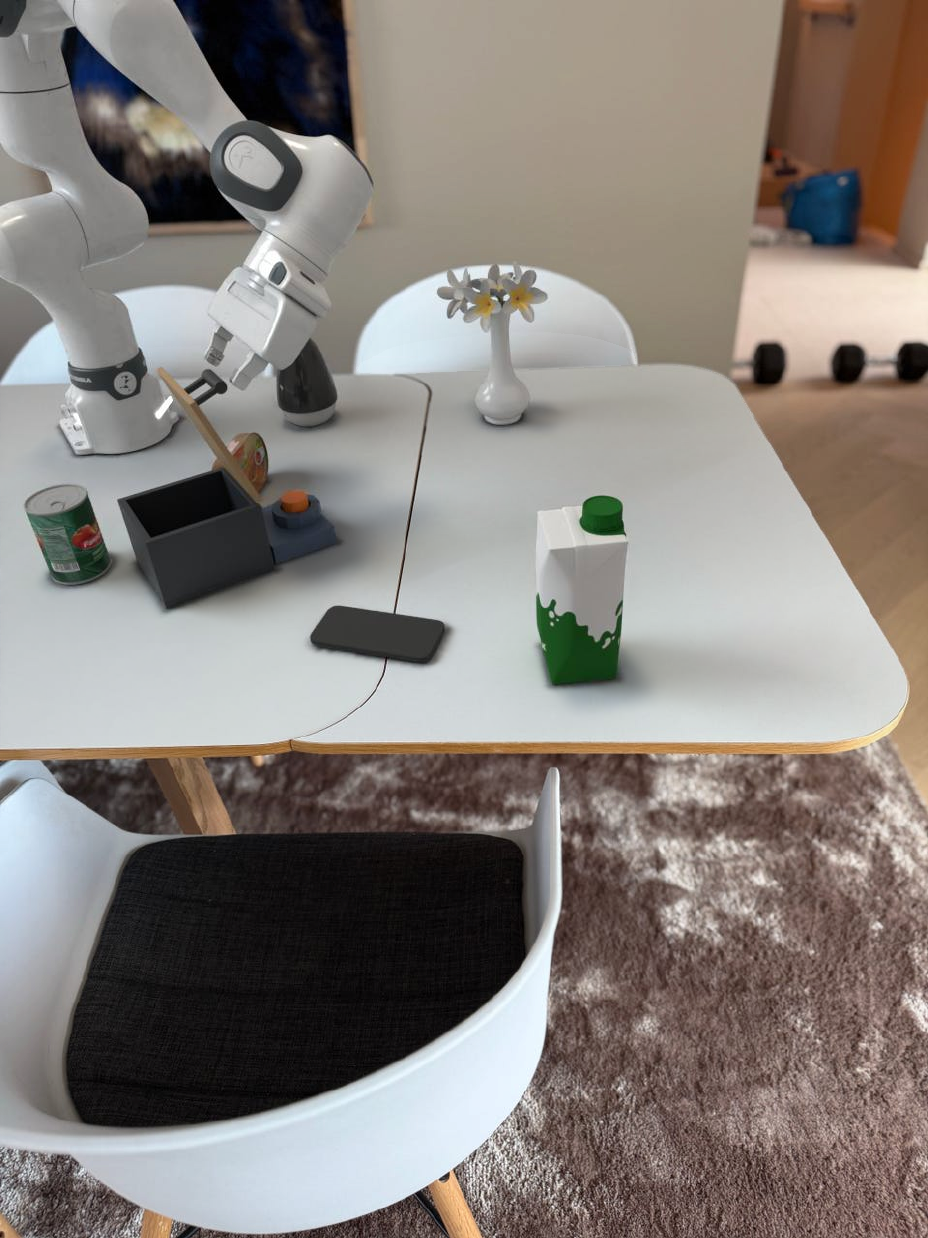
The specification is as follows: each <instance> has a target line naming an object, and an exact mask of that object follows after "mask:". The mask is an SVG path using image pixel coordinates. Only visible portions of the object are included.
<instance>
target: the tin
mask: <svg viewBox="0 0 928 1238" xmlns="http://www.w3.org/2000/svg"><path fill="white" fill-rule="evenodd" d="M226 447H227V448H228V450H229V451H230V453H231V454H232V456H233V457H234V459H235V460H236V462H237V463H238V465H239V466H240V467H241V469H242V470H243V472H244V473H245V475H246V476H247V478H248V479H249V481H250V482H251V484H252V485H253V487H254V488H255V490H256V491H257V492H258V493H259V492H260V490H261V489H262V488H263V486H264V485H265V483H266V481H267V478H268V475H269V454H268V449H267V445H266V443H265V441H264V439H263V437H262V436H261V435H260V434H259V433H258V432H255V431H254V432H244V433H242V432H241V433H238V434H236V435H235V436H234V437H233V438H232V439H231V441H230V442H229V443H228V444H227V445H226ZM221 467H223V465H222V464H221V463H220V461H219V460H218V459H217V457H216V458H215V460H214V461H213V463H212V466H211V470H214V469H218V468H221Z"/></svg>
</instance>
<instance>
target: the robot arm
mask: <svg viewBox="0 0 928 1238" xmlns="http://www.w3.org/2000/svg"><path fill="white" fill-rule="evenodd" d="M70 28H76V30H78V31H79V32H80V33H81V35H82V36H83V38H85V39H86V41H88V43H89V44H90V45H91V46H92V48H94V49H95V50H96V51H97V53H99V55H101V56H102V57H103V58H104V59H105V60H106V61H107V62H108V63H109V64H110V65H112V66H113V67H114V68H115V69H116V70H118V72H120V73H121V74H122V75H123V76H124V77H126V78H128V79H129V80H130V81H131V82H132V83H134V84H135V85H136V86H137V87H139V88H140V89H141V90H142V91H144V92H145V93H147V95H149V96H150V97H152V99H154V100H155V101H156V102H158V103H159V104H160V105H162V106H163V107H164V108H165V109H167V110H168V111H169V112H170V113H171V114H173V115H174V116H175V117H176V118H178V120H180V121H181V122H182V124H184V125H185V126H186V127H187V128H188V129H189V131H191V132H192V133H193V134H194V136H196V138H197V139H198V140H199V141H200V142H201V144H202V145H203V146H204V147H205V148H206V150H207V151H208V152H209V154H210V155H209V172H210V175H211V178H212V181H213V183H214V185H215V186H216V188H217V189H218V191H219V193H220V195H221V196H222V197H223V198H224V199H225V200H226V201H227V202H228V203H229V204H230V205H231V206H232V207H233V208H234V209H235V210H236V211H237V212H238V213H239V214H240V215H241V216H242V217H244V218H245V219H246V220H247V222H248V223H249V224H250V226H252V228H253V229H254V230H255V232H256V233H257V234H258V235H259V236H258V238H257V239H256V242H255V243H254V245H253V247H252V248H251V249H250V251H249V253H248V255H247V257H246V258H245V259H244V261H243V264H242V266H237V267H234V269H233V270H232V271H231V272H230V273H229V274H228V276H227V277H226V278H225V279H224V280H223V282H222V284H221V285H220V287H219V288H218V290H217V291H216V293H214V295H213V297H212V299H211V300H210V302H209V304H208V307H207V310H206V311H207V312H206V315H207V316H208V317H209V318H210V319H212V320H213V321H214V322H215V323H216V324H215V325H214V327H212V328H213V329H212V330H211V335H210V338H209V342H208V346H207V348H206V350H205V351H204V353H203V355H202V358H203V359H204V361H206V362H207V363H209V364H210V365H212V366H214V367H219V366H220V365H221V362H222V361H223V360H224V358H225V355H224V352H225V350H226V347H227V345H228V342H229V343H231V341H232V340H233V337H234V338H236V339H237V340H238V341H240V342H241V343H242V344H243V345H245V346H246V347H247V348H249V349H250V350H249V351H248V353H247V355H246V356H245V358H246V360H245V361H244V362H243V363H242V364H241V365H240V366H239V368H237V367H235V368H234V370H233V371H232V373H231V375H230V376H229V382H230V384H232V386H234V387H236V388H237V389H239V390H240V391H245V390H247V388H248V387H249V385H250V384H251V382H252V380H254V379H255V378H256V377H258V376H259V375H260V374H262V372H264V371H265V369H266V368H267V366H268V365H269V364H270V365H271V366H273V367H275V368H276V369H277V368H278V369H280V370H283V369H285V368H287V367H288V366H289V365H291V364H292V363H293V362H294V360H295V359H296V358H297V356H298V355H299V353H300V352H301V350H302V349H303V347H304V346H305V344H306V343H307V341H308V340H309V338H312V337H311V336H312V335H313V334H314V331H315V330H316V327H317V324H318V320H317V319H321V320H322V319H325V318H326V316H327V315H328V314H329V312H330V310H331V308H332V301H331V299H330V298H329V295H328V293H327V290H326V287H325V285H324V283H325V282H326V280H327V278H328V277H329V274H330V272H331V269H332V265H333V263H334V260H335V258H336V257H337V255H339V253H340V252H341V251H342V250H343V249H344V248H345V247H346V246H347V245H348V244H349V242H350V241H351V239H352V237H353V236H354V235H355V232H356V230H357V229H358V227H359V225H360V223H361V222H362V220H363V218H364V216H365V214H366V212H367V209H368V207H369V205H370V203H371V200H372V198H373V195H374V191H375V187H374V181H373V177H372V175H371V173H370V171H369V169H368V167H367V166H366V164H365V163H364V162H363V161H362V160H361V158H360V157H359V156H358V155H357V154H356V152H355V151H354V150H353V149H352V148H350V146H349V145H347V144H346V142H344V141H343V140H341V139H339V138H338V137H336V136H334V135H331V134H325V135H321V136H320V135H319V136H305V135H298V134H294V133H289V132H286V131H283V130H280V129H276V128H274V127H271V126H268V125H267V124H264V123H262V122H260V121H257V120H251V119H250V120H248V119H247V118H246V116H245V115H244V114H243V112H241V111H240V109H239V108H238V107H237V105H236V104H235V102H233V101H232V99H231V98H230V97H229V95H228V94H227V93H226V91H225V90H224V88H223V87H222V85H221V83H220V82H219V81H218V79H217V77H216V76H215V73H214V72H213V70H212V69H211V66H210V65H209V63H208V61H207V59H206V58H205V55H204V53H203V52H202V50H201V48H200V47H199V44H198V42H197V41H196V39H195V36H194V35H193V33H192V32H191V30H190V28H189V26H188V24H187V22H186V21H185V19H184V17H183V15H182V13H181V11H180V10H179V8H178V6H177V4H176V2H175V1H174V0H0V145H1V146H2V148H3V150H4V151H5V152H6V153H7V154H8V156H9V157H11V158H12V159H13V160H15V161H16V162H18V163H20V164H23V165H25V166H28V167H29V168H32V169H36V170H39V171H43V172H44V173H45V174H46V176H47V177H48V179H49V182H50V185H51V191H50V192H48V193H47V192H46V193H44V194H39V195H34V196H30V197H26V198H25V197H24V198H21V199H17V200H13V201H9V202H6V203H3V204H2V205H0V278H1V279H2V280H4V281H6V282H7V283H9V284H13V285H15V286H17V287H18V288H21V289H23V290H24V291H26V292H28V293H29V294H31V296H32V297H34V298H35V299H37V300H38V301H39V302H40V304H41V305H42V306H43V307H44V309H45V310H46V311H47V312H48V314H49V316H50V317H51V319H52V321H53V323H54V325H55V327H56V330H57V332H58V334H59V337H60V340H61V342H62V345H63V348H64V350H65V353H66V356H67V360H68V361H67V372H68V376H69V379H70V383H71V384H70V386H69V387H68V389H67V390H66V391H65V394H64V398H65V401H66V403H64V404H62V405H59V409H60V412H61V415H62V417H63V418H61V419H60V420H59V426H60V429H61V430H62V433H63V434H64V436H65V437H66V440H67V441H68V443H69V445H70V446H71V448H72V450H73V451H74V454H76V455H79V456H83V455H92V454H106V455H115V454H124V453H131V452H135V451H139V450H142V449H145V448H148V447H151V446H153V445H156V444H157V443H159V442H161V441H162V440H164V439H165V438H166V437H167V436H168V435H169V434H170V432H171V431H172V427H173V426H174V425H175V424H176V423H177V422H178V421H179V420H180V416H179V414H178V412H176V411H173V410H170V409H169V406H170V405H171V404H172V402H173V397H172V396H169V397H168V398H167V399H166V397H165V395H164V392H163V389H162V386H161V383H160V381H159V378H158V377H157V376H155V375H154V374H151V373H149V372H148V370H149V369H148V366H147V360H146V357H145V354H144V352H143V349H142V348H141V347H139V344H138V341H137V337H136V335H135V330H134V327H133V323H132V319H131V315H130V312H129V308H128V307H127V305H126V304H125V302H124V301H122V299H121V298H119V297H118V296H116V295H115V294H113V293H111V292H108V291H105V290H102V289H98V288H94V287H89V286H88V284H87V282H86V280H85V278H84V275H83V271H82V270H85V269H86V268H87V269H88V268H90V267H93V266H97V265H100V264H103V263H108V262H111V261H114V260H118V259H121V258H123V257H125V256H126V255H128V254H130V253H132V252H134V251H135V250H137V249H139V248H141V247H142V246H143V245H145V243H146V241H147V240H148V236H149V231H150V230H149V229H150V223H149V222H150V221H149V216H148V212H147V210H146V207H145V205H144V203H143V201H142V199H141V198H140V197H139V195H138V194H137V193H136V191H134V190H133V189H132V188H131V187H129V186H128V185H127V184H125V183H123V182H121V181H119V180H118V179H116V178H115V177H114V176H113V175H111V174H110V173H109V172H108V171H107V170H106V169H105V168H104V167H103V166H102V165H101V164H100V162H99V160H98V159H97V158H96V156H95V155H94V153H93V151H92V149H91V148H90V145H89V143H88V141H87V138H86V136H85V132H84V129H83V126H82V123H81V120H80V117H79V113H78V109H77V107H76V101H75V99H74V94H73V90H72V85H71V82H70V78H69V74H68V70H67V67H66V63H65V60H64V56H63V53H62V47H61V37H62V34H63V32H64V31H65V30H66V29H70Z"/></svg>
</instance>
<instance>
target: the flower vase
mask: <svg viewBox="0 0 928 1238" xmlns="http://www.w3.org/2000/svg"><path fill="white" fill-rule="evenodd" d="M512 267H513V271H510V272H506V273H502V274H501V270H500V267H499V265H498V263H497V264H496V263H494V264H492V265H491V266H490V267H489V269H488V272H487V278H486V277H480V278H474V279H471V273H469V271H468V268H467V267H465V268H464V269H463V270H464V271H463V275H462V279H461V280H460V281H459V280H458V278H457V276H456V274H455V273H454V272H453V270H452V269H447V271H446V278H447V282H448V284H449V285H450V286H448V285H447V286H445V285H443V286H441V287H438V288H437V290H436V294H437V296H438V298H440V299H442V300H444V301H449V303H448V305H447V309H446V317H447V319H448V320H449V319H450V320H451V319H452V318H454V316H455V315H456V313H457V312H458V311H459V310H460V311H461V312H462V313H463V317H462V320H463V322H464V323H466V324H470V323H473V322H475V321H476V320H478V319H479V324H480V327H481V330H482V331H483V332H484V333H488V332H489V331H490V364H489V370H488V373H487V375H486V378H485V379H484V381H482V383H481V384H480V385H479V387H477V390H476V391H475V394H474V401H473V402H474V405H475V408H476V409H477V411H479V413H481V414H482V415H483V416H484V419H485V421H486V422H487V423H489V424H491V425H498V426H505V425H511V424H514V423H517V422H518V421H519V420H520V419H521V416H522V414H523V412H525V411H526V409H527V408H528V407H529V405H530V403H531V395H530V391H529V389H528V387H527V386H526V385H525V383H524V382H523V381H521V380H520V379H519V378H518V376H517V374H516V373H515V371H514V368H513V367H514V366H513V363H512V357H511V344H510V321H511V315H512V314H514V313H515V312H516V311H517V310H518V311H519V313H520V315H521V317H522V318H523V320H525V321H526V322H527V323H533V322H534V321H535V311H534V309H533V306H532V305H539V304H543V303H545V302H546V301H547V300H548V298H549V296H548V293H546V292H545V291H544V290H542V289H541V288H539V287H536V286H533V285H534V284H535V283H536V281H537V278H538V277H537V272H536V271H535V270H534V269H527V270H525V272H523V271H522V268H521V266H520V265H519V263H518V262H517V261H515V260H513V261H512ZM476 290H478V291H476ZM507 295H508V296H509V298H507V300H504V297H505V296H507ZM493 298H496V299H497V300H496V299H493ZM468 303H470V304H471V305H472V306H470V307H469V308H468Z"/></svg>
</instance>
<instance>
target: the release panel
mask: <svg viewBox="0 0 928 1238" xmlns="http://www.w3.org/2000/svg"><path fill="white" fill-rule="evenodd" d="M306 494H307V498H308V503H309V508H307V509H306V510H304V511H302V512H299V513H286V512H284V511H283V508H282V503H281V497H280V498H279V499H277V500H276V501H274V502H273V503H272V504H269V505H266V506H262V507H261V508H262V513H263V517H264V522H265V526H266V531H267V535H268V540H269V544H270V549H271V553H272V558H273V562H274V564H275V565H279V564H281V563H285V562H287V561H290V560H292V559H296V558H299V557H301V556H304V555H306V554H309V553H312V552H314V551H315V552H316V551H317V550H320V549H323V548H326V547H328V546H332V545H334V544H337V537H336V531H335V526H334V525H333V524H332V523H331V522H330V521H329V520H328V519H327V518H326V517H325V516H324V515H323V513H322V507H321V506H322V505H321V501H320V500H319V499H318V498H317V497H316V495H314V494H309V493H306Z"/></svg>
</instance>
